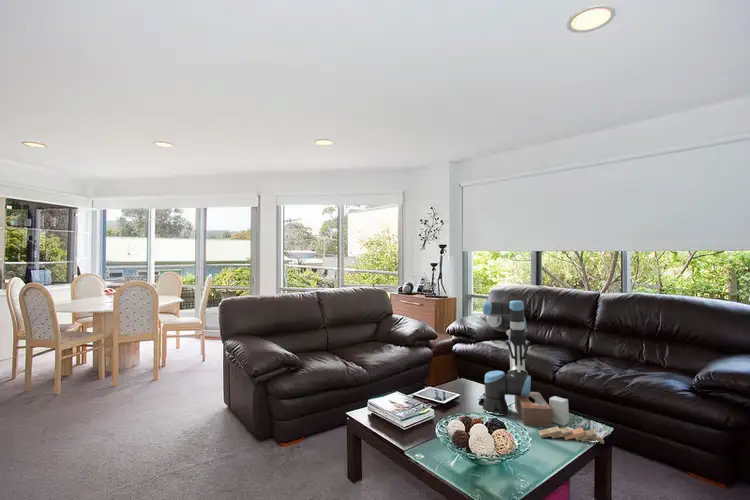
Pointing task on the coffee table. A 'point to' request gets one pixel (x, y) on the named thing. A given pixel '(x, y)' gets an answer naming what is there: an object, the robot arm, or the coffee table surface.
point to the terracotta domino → (575, 433)
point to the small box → (559, 410)
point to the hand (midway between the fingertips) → (518, 371)
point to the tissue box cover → (533, 410)
